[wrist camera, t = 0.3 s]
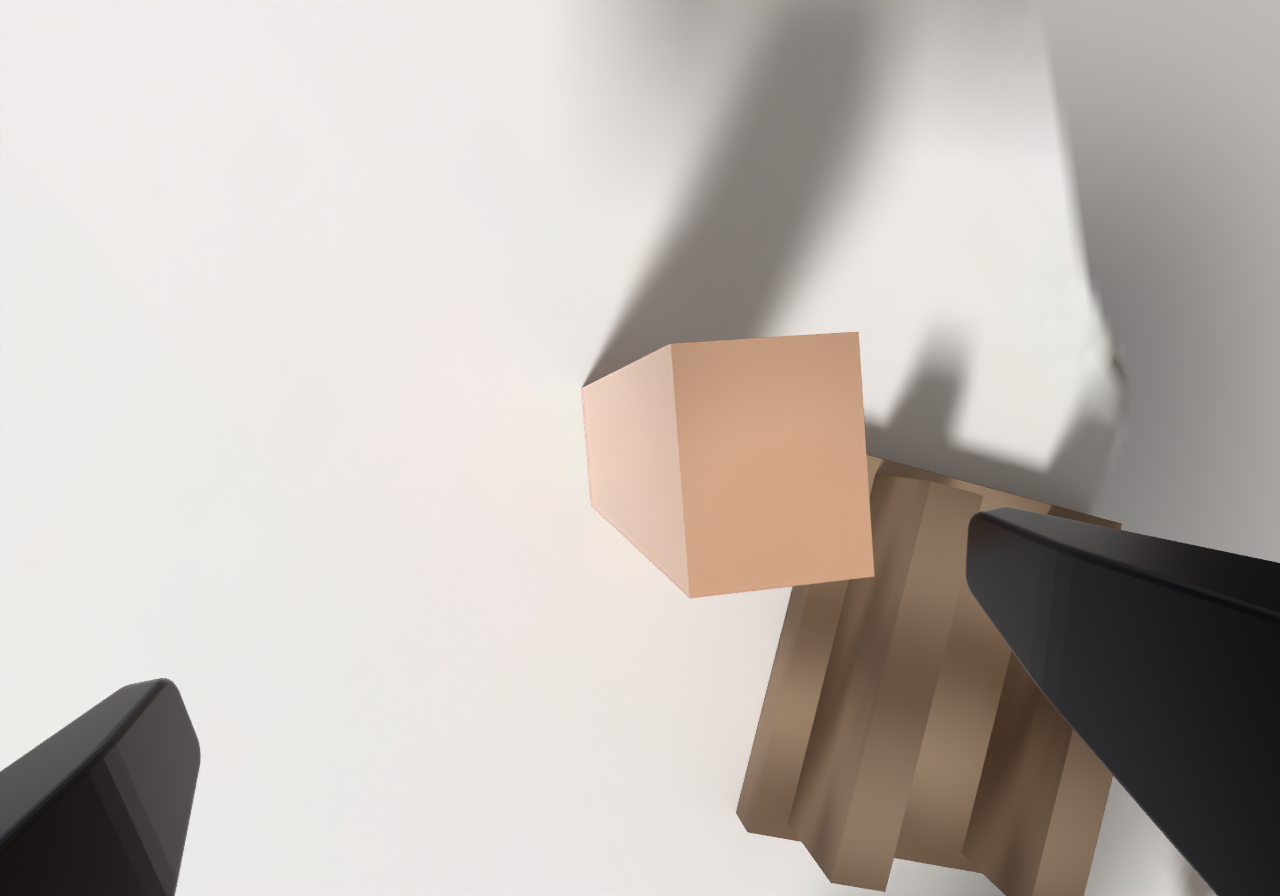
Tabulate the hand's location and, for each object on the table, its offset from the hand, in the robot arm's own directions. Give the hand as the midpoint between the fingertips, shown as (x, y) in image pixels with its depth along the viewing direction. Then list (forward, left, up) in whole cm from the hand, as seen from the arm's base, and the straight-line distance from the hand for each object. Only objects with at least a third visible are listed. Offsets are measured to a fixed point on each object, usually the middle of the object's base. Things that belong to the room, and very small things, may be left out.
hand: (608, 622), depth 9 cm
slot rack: (+1, -14, -15) cm, 20 cm away
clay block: (+3, -2, -15) cm, 15 cm away
